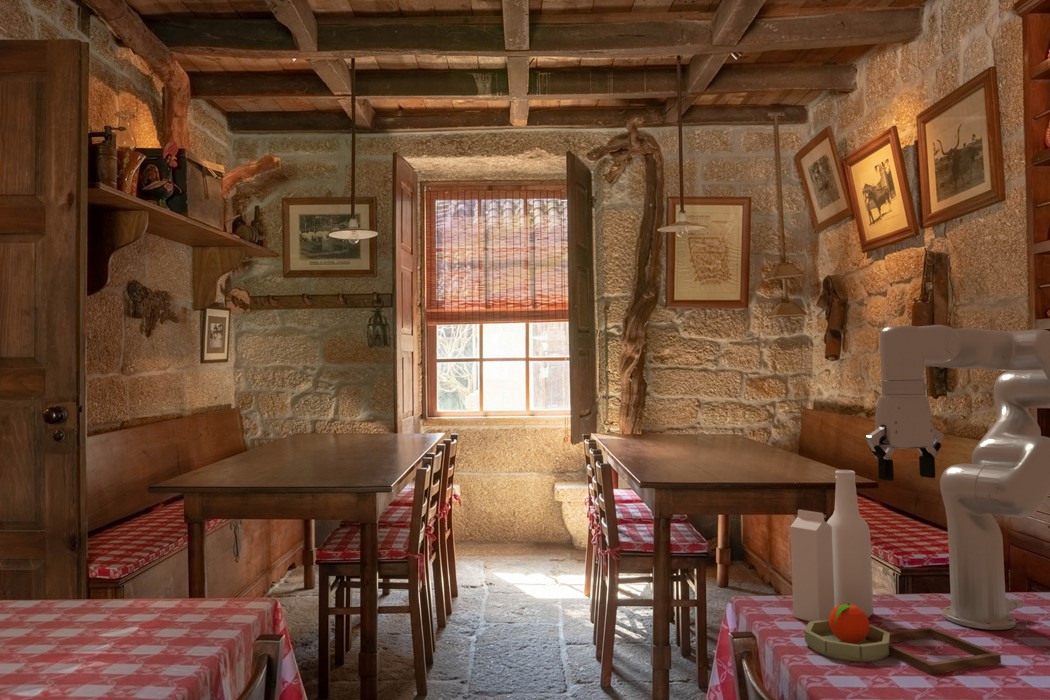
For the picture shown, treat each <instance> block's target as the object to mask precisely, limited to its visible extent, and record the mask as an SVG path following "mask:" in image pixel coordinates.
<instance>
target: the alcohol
mask: <svg viewBox="0 0 1050 700" xmlns="http://www.w3.org/2000/svg"><path fill="white" fill-rule="evenodd" d="M834 474H835V476H834V478H835V492H834V493H835V494H834V495H835V497H834V510H833V513H832V515H831V516H830V517H829V518H828V519H827V521H826V523H828V524H829V525H830V526H831V527H832V548H833V576H834V603H835V607H837V606H838V605H840V604H848V603H849V604H852V605H855V606H857V607H859V608H860V609H861V610H863V612H864V613H865V614H866V616H867V618H868V619H869V618H870V617H872V615H873V613H874V597H873V596H874V594H873V593H874V592H873V590H874V589H873V570H872V568H873V567H872V566H873V565H872V542H871V530H870V526H869V524H868V523H867V521H866V520H865V519H864V518H863V517H862V516H861V513H860V511H859V502H858V495H857V494H858V493H857V487H856V479H857V477H856V472H855V471H854V470H851V469H837V470H835V471H834Z"/></svg>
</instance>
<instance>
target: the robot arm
mask: <svg viewBox="0 0 1050 700" xmlns="http://www.w3.org/2000/svg"><path fill="white" fill-rule="evenodd" d="M879 354H880V373H881V374H880V375H881V376H880V380H881V396H880V397H878V400H877V403H876V404H877V405H876V408H875V409H876V410H875V417H874V418H875V421H874V431H872V432H871V433H869V434H868V435H866V437H865V440H866V443H867V444H868V447H869V451H871V453H872V454H873V455H874V458H876V459H877V469H878V478H879V480H881V481H888V482H892V481H894V475H895V473H894V461H893V460H894V459H892V458H891V457H892V455H893V454H894V453H895V451H896V450H908V449H909V450H911V449H917V450H918V451H919V453H920V455H919V457H918V459H919V460H918V465H919V476H920V477H922V478H930V479H935V478H936V460H935V458H936V457H937V456H939V455H938V452H939V450H940V449H941V448H942V442H943V440H944V437H945V434H944V433H943V432H941V431H940V430H938V429H937V428H934V425H933V424H934V423H933V416H932V415H933V414H932V410H931V406H930V402H929V398H928V396H926V394H927V393H926V391H927V389H928V384H927V383H926V372H925V370H926V369H925V367H937V368H938V367H939V368H947V369H967V370H968V369H969V370H973V369H974V370H989V371H1002V372H1003V371H1004V372H1003V373H1001V374H1000V375H999V376H998V377H997V378H996V379H995V382H994V384H993V396H994V402H995V403H994V404H995V409H996V420H995V422H994V424H992V426H991V427H990V429H989V430H988V431H987V432H986V433H985V434H984V435H983V437H982V438H981V439H980V441H979V442H978V443H977V445H976V446H975V448H974V450H973V452H972V454H971V463H957V464H953V465H950V466H948V467H947V468H946V469H944V471H943V472H942V474H941V476H940V480H939V489H940V493H941V496H942V501H943V506H944V508H945V515H946V522H947V542H948V543H947V545H948V563H949V586H950V588H949V589H950V605H948V606H946V607H944V608H942V616H943V617H944V618H945V619H946V620H948V621H949V622H952V623H955V624H956V625H957V624H958V625H960V626H963V627H968V628H974V629H978V630H979V629H980V630H989V631H990V630H991V631H1002V630H1010V629H1013V628H1015V627H1016V625H1017V623H1016V622H1017V620H1016V618H1015V617H1014V616H1013V615H1011V614H1010V612H1011V611H1012V610H1015V609H1016V610H1017V609H1022V608H1023V607H1024V602H1023V600H1022V599H1020V598H1019V597H1017V598H1011V599H1009V598H1007V597H1006V584H1005V583H1006V582H1005V563H1004V562H1005V561H1004V559H1005V558H1004V539H1003V538H1004V537H1003V533H1002V530H1001V527H1000V526H999V523H997V520H996V519H995V518H994V516H993V515H997V516H1004V517H1010V518H1019V519H1020V518H1021V519H1022V518H1023V519H1024V518H1027V517H1030V516H1033V515H1034V514H1035V513H1036V512H1037V511H1038V510H1039V509H1040V507H1041V506H1042V504H1044V502H1045V500H1046V499H1047V498H1048V496H1049V495H1050V437H1048V436H1044V435H1042V432H1041V426H1040V425H1039V424H1038V422H1037V420H1036V419H1035V417H1033V415H1032V414H1030V413H1029V409H1050V331H1049V330H1047V329H1041V328H1039V329H1038V328H1037V329H1027V330H1025V329H1024V330H1009V331H1007V330H1005V331H1003V330H996V329H995V330H993V329H983V328H977V327H968V328H967V327H962V328H952V327H951V326H948V325H943V324H931V325H919V326H917V325H895V326H894V325H892V326H887V327H884V328H882V329H881V330H880V333H879ZM1028 408H1029V409H1028Z"/></svg>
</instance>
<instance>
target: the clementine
mask: <svg viewBox="0 0 1050 700" xmlns="http://www.w3.org/2000/svg"><path fill="white" fill-rule="evenodd" d="M869 624H870V621H869V618H867V616H866V614H865V613H864V612H863V610H861V609H860V608H859V607H857V606H855V605H852V604H849V603H848V604H840V605H838V606H837V607H835V608H834V609H833V610H832V611H831V614H830V616H829V626H830V628H831V630H832V633H833V634H834V635H835V636H836V637H837V638H838V639H840V640H841V641H843V642H846V643H858V642H860V641H862V640H864V639H865V638H866V637H867V635H868V632H869V627H870V625H869Z"/></svg>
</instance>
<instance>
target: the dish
mask: <svg viewBox="0 0 1050 700" xmlns="http://www.w3.org/2000/svg"><path fill="white" fill-rule="evenodd" d="M869 625H870V627H869V632H868V635H874V636H876V638H878V639H880V640H882V642H875V643H873V642H871V641H869V640H866V638H865V639H864V640H862V641H860V642H858V643H846V642H843V641H841V640H840V639H838V638H837V637H836V636H835V635H834V634H833V633H832V630H831V628H830V626H829V619H826V620H818V621H808V623H807V625H806V628H805V629H804V642H805V643H806V644H807V646H808V648H809V649H811V650H812V651H813V652H816V653H817V654H820V655H822V656H824V657H828V658H831V659H835V660H840V661H845V662H855V663H869V662H870V663H872V662H877V661H878V662H879V661H883V660H885V659H887V658H888V657H889V656H890V655H889V645H890V644H891V643H890V633H889V632H890V631H887V630H884V629H882V628H879V627H877V626H875V625H873V624H870V623H869Z"/></svg>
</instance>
